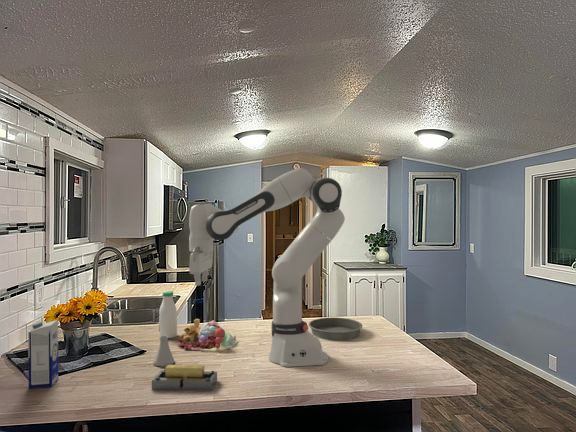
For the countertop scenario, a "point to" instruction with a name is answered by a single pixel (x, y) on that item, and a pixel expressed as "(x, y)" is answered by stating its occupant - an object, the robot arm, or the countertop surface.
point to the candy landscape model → (206, 338)
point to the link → (166, 382)
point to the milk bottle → (168, 316)
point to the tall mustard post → (184, 371)
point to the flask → (164, 353)
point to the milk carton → (43, 354)
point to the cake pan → (335, 328)
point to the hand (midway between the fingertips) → (201, 283)
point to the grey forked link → (201, 382)
